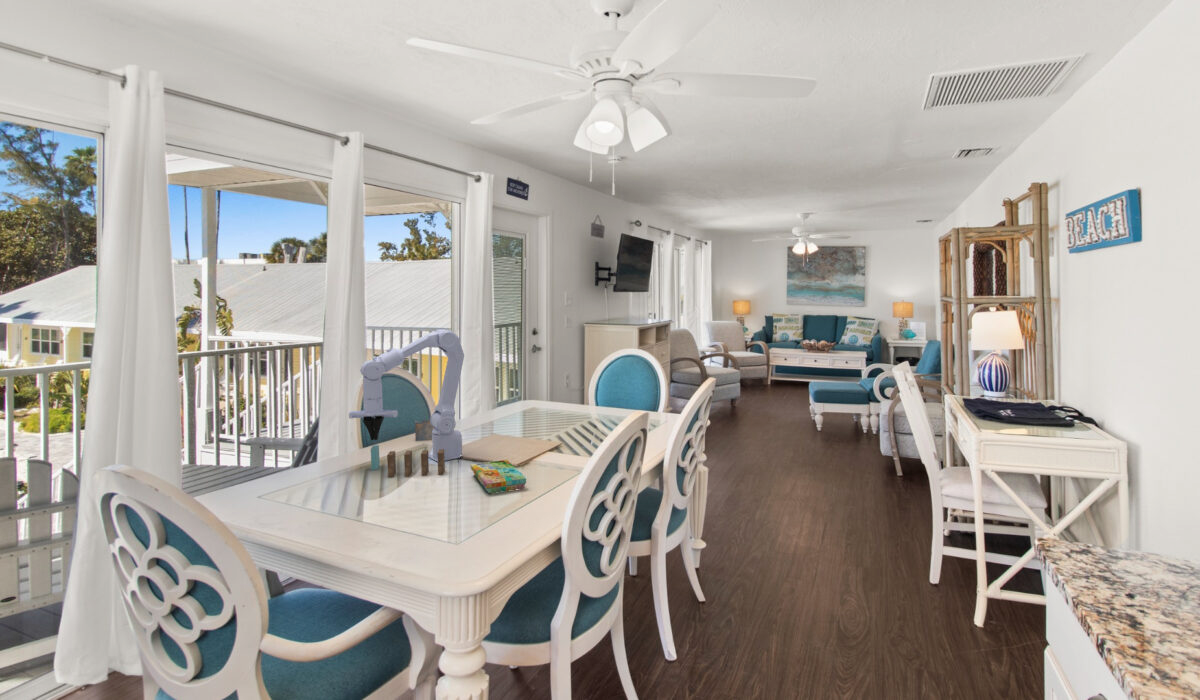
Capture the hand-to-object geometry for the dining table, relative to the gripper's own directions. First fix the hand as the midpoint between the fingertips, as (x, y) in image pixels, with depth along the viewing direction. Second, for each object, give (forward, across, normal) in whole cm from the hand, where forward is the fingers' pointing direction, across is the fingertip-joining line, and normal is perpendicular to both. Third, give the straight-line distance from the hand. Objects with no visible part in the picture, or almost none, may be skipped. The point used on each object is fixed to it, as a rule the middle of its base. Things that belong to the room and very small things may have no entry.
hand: (374, 439), depth 188 cm
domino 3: (+9, +12, -8) cm, 17 cm away
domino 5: (+9, +22, -8) cm, 25 cm away
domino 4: (+9, +17, -8) cm, 21 cm away
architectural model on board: (+10, +13, +34) cm, 38 cm away
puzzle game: (+10, +39, -20) cm, 45 cm away
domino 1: (+9, 0, 0) cm, 9 cm away
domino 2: (+9, +7, -8) cm, 14 cm away
